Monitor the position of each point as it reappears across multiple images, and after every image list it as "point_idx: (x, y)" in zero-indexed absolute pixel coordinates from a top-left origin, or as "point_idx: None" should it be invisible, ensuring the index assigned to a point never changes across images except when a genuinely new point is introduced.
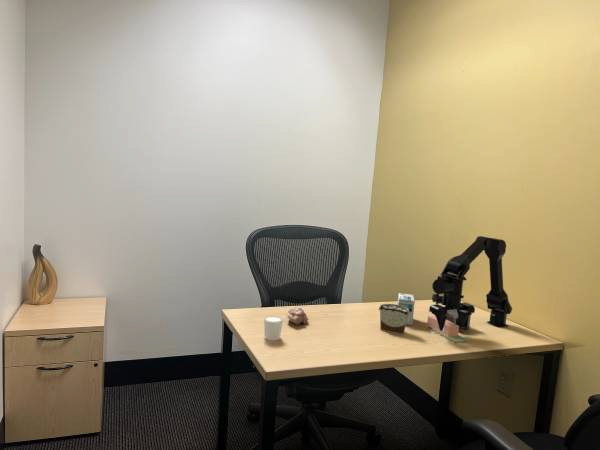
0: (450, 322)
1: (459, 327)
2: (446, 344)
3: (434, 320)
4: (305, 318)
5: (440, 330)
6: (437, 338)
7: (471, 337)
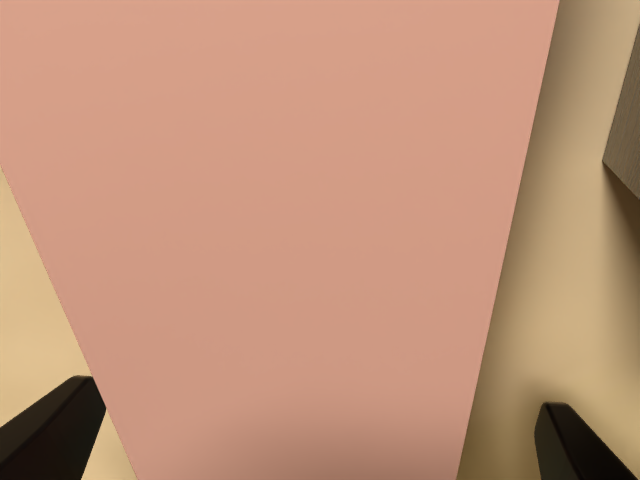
0: (409, 435)
1: (540, 468)
2: (109, 465)
3: (2, 72)
4: None
5: (84, 387)
6: (73, 342)
7: (627, 434)
